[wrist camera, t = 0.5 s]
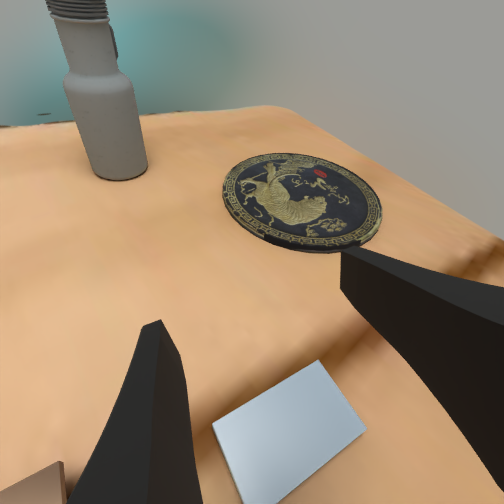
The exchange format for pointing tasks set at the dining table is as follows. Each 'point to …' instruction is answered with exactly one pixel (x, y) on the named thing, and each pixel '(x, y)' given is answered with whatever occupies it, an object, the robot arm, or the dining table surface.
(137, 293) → the dining table surface
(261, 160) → the decorative plate
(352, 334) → the dining table surface
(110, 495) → the robot arm
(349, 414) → the lid
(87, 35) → the water bottle
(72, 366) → the dining table surface
